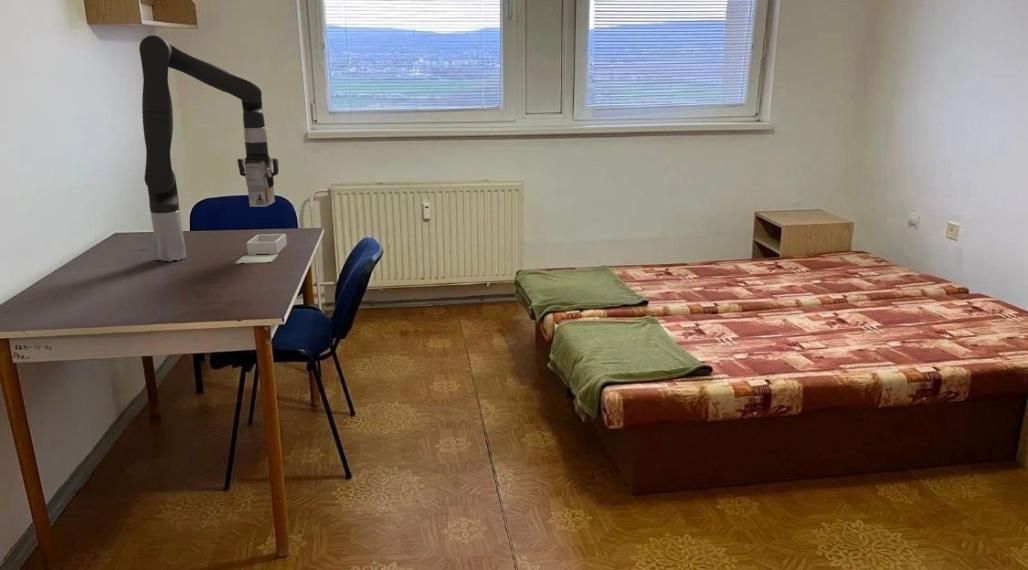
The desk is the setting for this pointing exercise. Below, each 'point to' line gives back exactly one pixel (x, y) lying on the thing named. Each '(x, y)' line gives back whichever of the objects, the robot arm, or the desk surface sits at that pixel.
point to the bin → (266, 244)
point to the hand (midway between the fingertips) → (260, 187)
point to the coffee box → (259, 184)
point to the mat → (256, 259)
